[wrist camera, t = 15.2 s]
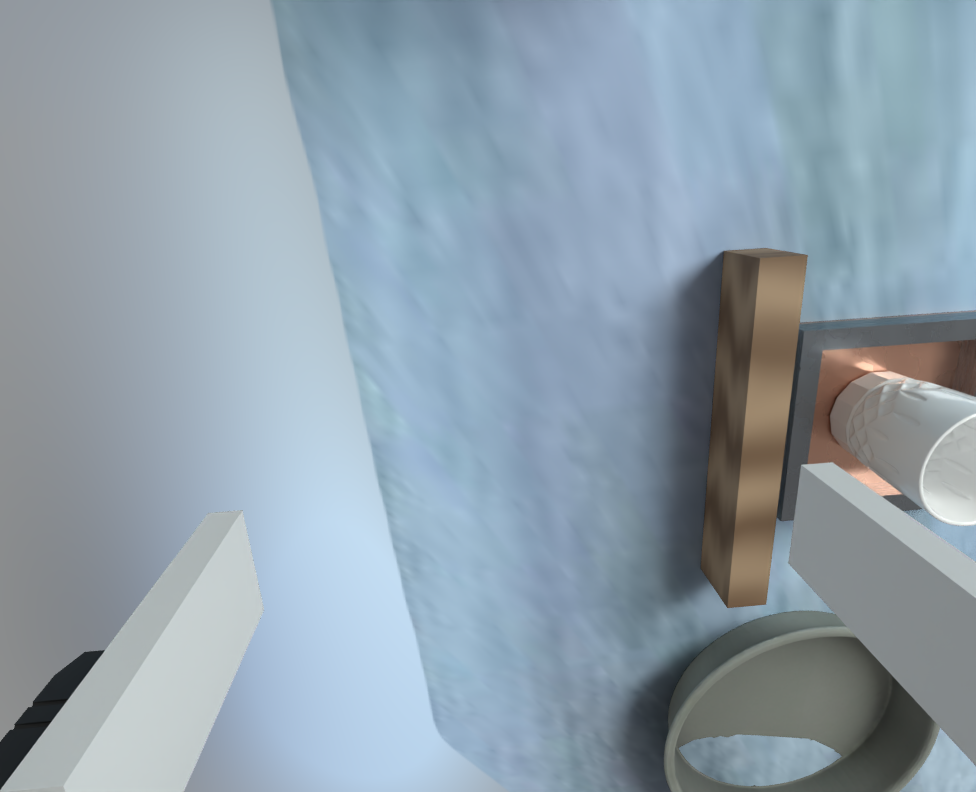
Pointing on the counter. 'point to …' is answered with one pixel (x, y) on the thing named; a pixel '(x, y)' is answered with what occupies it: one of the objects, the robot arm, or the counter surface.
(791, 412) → the square tray
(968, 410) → the white cup
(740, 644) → the cake pan
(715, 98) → the counter surface
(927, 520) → the counter surface
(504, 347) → the counter surface
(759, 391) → the board
